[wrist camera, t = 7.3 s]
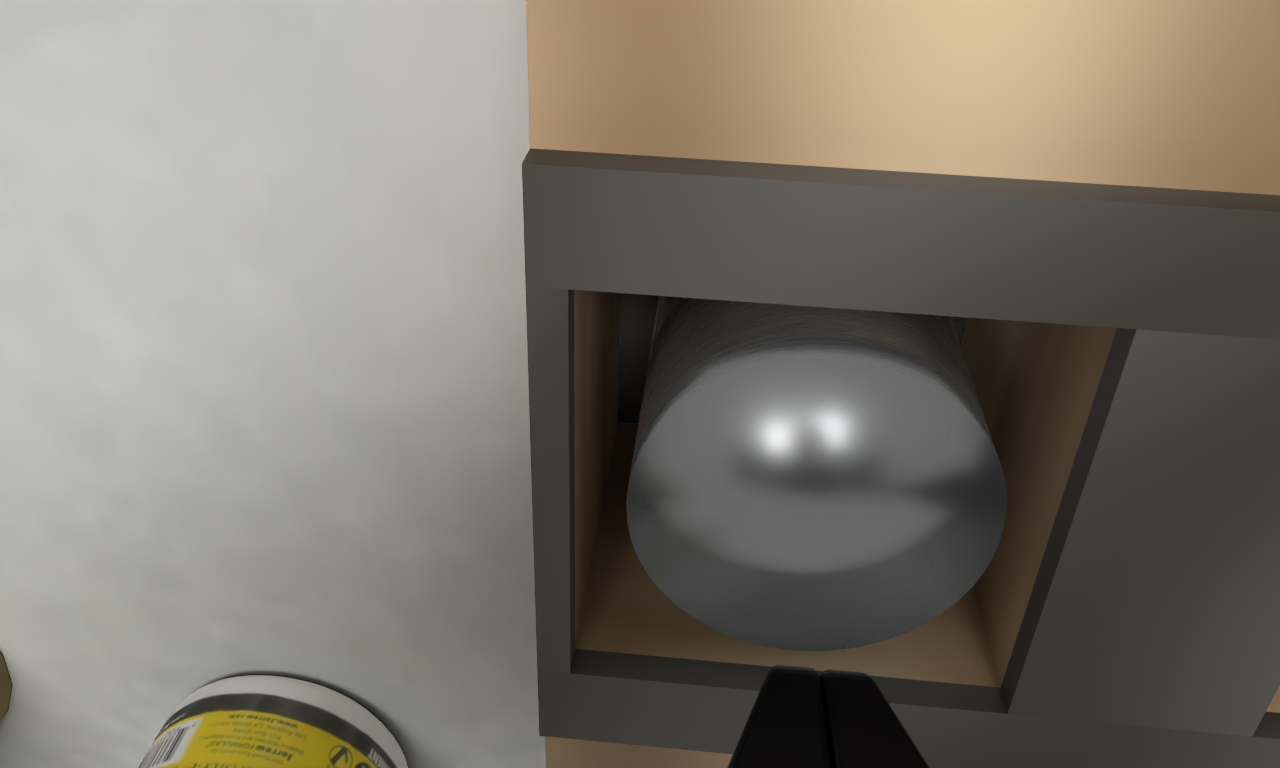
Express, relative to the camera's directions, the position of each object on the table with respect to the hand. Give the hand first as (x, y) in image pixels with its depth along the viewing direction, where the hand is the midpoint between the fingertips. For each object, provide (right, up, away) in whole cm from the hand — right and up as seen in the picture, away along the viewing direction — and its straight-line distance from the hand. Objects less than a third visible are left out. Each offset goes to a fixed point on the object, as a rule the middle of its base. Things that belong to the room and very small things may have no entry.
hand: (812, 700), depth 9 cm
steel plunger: (+1, +4, +7) cm, 8 cm away
